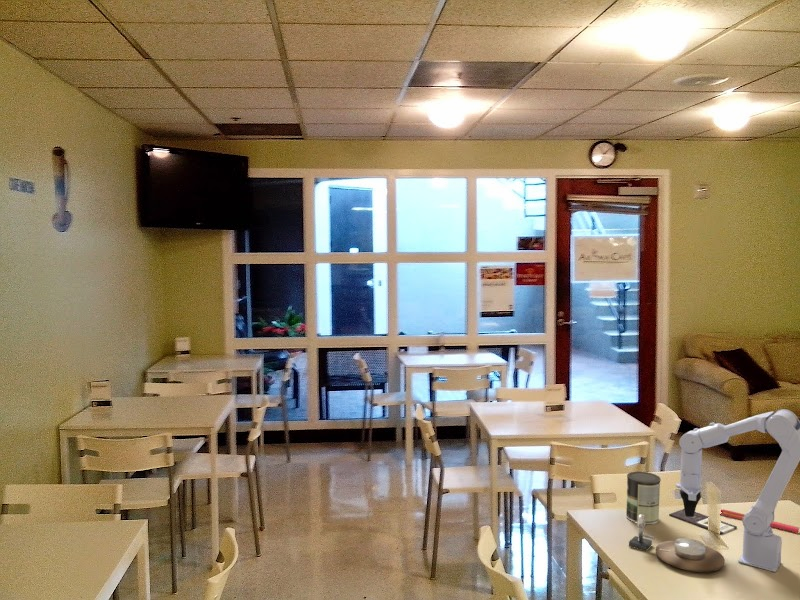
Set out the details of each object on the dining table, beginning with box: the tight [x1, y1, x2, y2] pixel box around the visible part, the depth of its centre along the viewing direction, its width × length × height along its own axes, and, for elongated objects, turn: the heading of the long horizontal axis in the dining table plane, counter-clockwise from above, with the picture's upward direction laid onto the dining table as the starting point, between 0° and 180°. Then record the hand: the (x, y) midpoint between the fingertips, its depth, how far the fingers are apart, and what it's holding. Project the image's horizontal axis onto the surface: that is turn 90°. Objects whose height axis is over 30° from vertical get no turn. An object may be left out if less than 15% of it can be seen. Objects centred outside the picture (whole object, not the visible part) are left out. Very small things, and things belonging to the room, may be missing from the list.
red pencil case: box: [720, 508, 800, 534], centre depth 219 cm, size 24×2×5 cm
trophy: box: [628, 514, 655, 552], centre depth 200 cm, size 6×5×10 cm
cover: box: [674, 537, 706, 561], centre depth 192 cm, size 8×8×3 cm
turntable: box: [655, 539, 726, 573], centre depth 192 cm, size 18×18×1 cm
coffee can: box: [625, 471, 662, 525], centre depth 221 cm, size 10×10×14 cm
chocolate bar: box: [669, 508, 738, 536], centre depth 219 cm, size 9×1×18 cm
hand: (689, 515), depth 203 cm, fingers closed
